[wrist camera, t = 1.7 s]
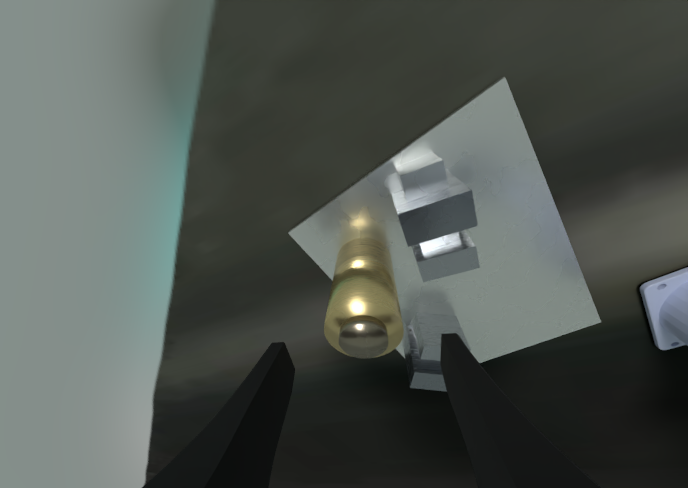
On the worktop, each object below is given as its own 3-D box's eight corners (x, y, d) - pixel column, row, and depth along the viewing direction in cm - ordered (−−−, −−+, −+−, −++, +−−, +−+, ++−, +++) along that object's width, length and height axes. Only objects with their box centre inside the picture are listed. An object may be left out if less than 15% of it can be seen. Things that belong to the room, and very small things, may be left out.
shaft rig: (500, 78, 13) (549, 67, 9) (596, 318, 20) (644, 361, 16) (289, 230, 18) (272, 258, 14) (425, 377, 25) (434, 419, 21)
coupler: (371, 227, 17) (374, 298, 11) (401, 267, 18) (421, 351, 12) (325, 255, 18) (305, 333, 12) (357, 291, 19) (354, 377, 13)
